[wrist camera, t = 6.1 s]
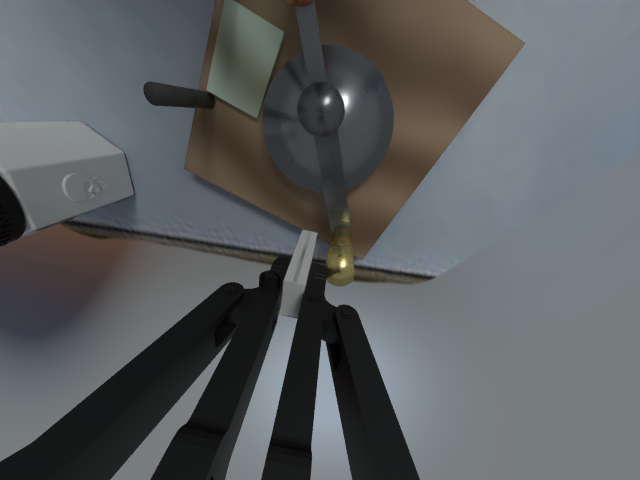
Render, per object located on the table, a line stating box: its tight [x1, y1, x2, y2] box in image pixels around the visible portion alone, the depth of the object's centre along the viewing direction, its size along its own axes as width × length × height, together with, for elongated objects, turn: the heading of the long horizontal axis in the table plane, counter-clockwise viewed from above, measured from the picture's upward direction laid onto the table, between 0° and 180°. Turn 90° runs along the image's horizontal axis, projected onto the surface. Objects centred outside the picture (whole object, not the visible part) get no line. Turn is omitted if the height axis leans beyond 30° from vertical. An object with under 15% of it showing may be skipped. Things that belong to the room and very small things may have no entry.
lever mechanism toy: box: [144, 0, 525, 260], centre depth 16 cm, size 20×20×8 cm
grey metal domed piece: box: [263, 0, 394, 286], centre depth 15 cm, size 19×10×8 cm, turn 11°
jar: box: [0, 121, 134, 246], centre depth 19 cm, size 9×8×12 cm
